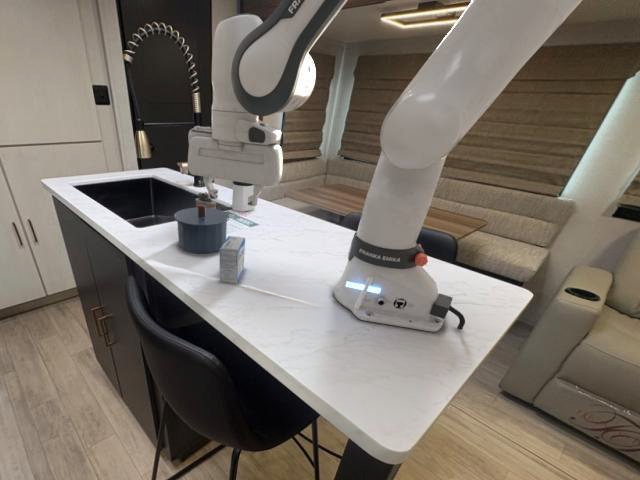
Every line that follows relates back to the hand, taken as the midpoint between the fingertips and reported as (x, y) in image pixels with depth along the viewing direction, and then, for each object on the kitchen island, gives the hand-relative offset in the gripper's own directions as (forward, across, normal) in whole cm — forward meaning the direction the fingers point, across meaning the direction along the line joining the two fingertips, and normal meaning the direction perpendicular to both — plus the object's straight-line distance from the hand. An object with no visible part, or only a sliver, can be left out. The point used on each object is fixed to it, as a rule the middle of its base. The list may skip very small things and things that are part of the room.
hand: (232, 201), depth 67 cm
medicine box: (+18, +1, -1) cm, 18 cm away
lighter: (+18, -23, +29) cm, 41 cm away
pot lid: (+9, -14, +11) cm, 20 cm away
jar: (+18, -19, +51) cm, 57 cm away
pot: (+18, -14, +11) cm, 25 cm away
